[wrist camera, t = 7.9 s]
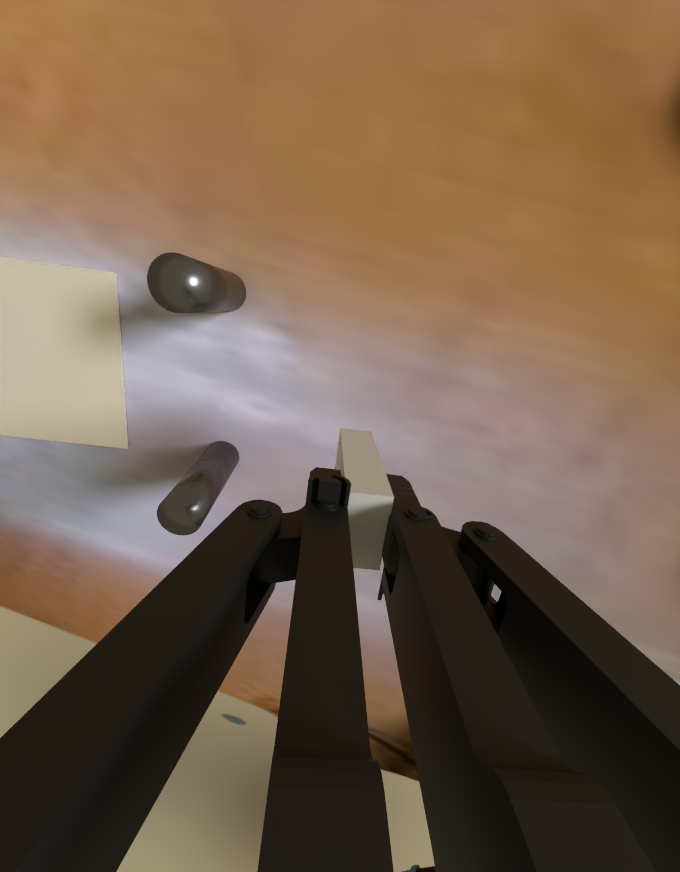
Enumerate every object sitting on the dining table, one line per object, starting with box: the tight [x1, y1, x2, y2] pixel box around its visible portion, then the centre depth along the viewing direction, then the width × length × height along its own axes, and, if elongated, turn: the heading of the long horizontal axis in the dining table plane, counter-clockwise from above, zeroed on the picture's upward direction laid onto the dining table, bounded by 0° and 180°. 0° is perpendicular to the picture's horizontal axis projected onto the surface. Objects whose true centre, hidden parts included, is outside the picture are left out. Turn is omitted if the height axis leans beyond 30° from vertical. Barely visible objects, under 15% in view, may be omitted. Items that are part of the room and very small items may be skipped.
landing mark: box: [0, 256, 128, 449], centre depth 26 cm, size 13×13×1 cm
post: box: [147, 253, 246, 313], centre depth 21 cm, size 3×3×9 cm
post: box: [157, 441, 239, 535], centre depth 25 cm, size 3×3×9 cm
